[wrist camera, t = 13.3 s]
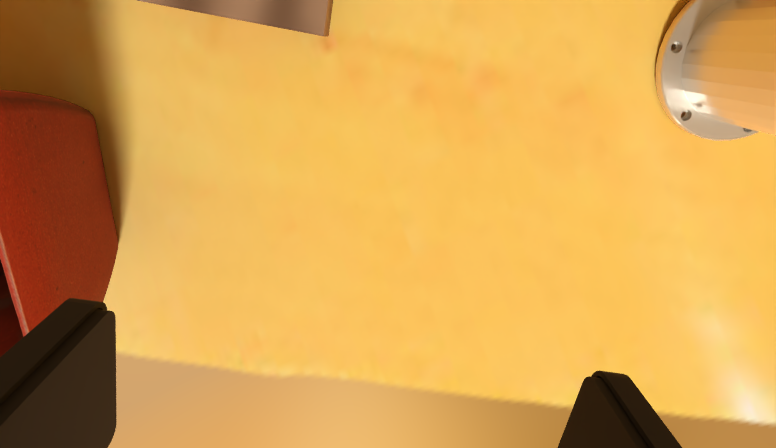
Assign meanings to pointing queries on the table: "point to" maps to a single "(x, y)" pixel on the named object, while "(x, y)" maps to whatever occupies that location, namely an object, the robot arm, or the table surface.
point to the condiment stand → (265, 12)
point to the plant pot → (50, 211)
